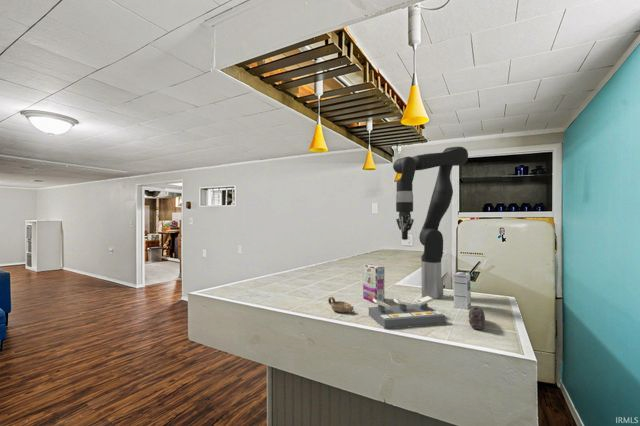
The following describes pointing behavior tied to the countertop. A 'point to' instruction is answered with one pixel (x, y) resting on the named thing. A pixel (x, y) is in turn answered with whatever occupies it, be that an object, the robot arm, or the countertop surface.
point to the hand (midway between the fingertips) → (404, 239)
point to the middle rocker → (402, 302)
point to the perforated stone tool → (476, 318)
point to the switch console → (406, 315)
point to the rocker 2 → (423, 300)
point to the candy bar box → (373, 282)
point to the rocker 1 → (381, 303)
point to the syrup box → (462, 290)
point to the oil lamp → (340, 306)
